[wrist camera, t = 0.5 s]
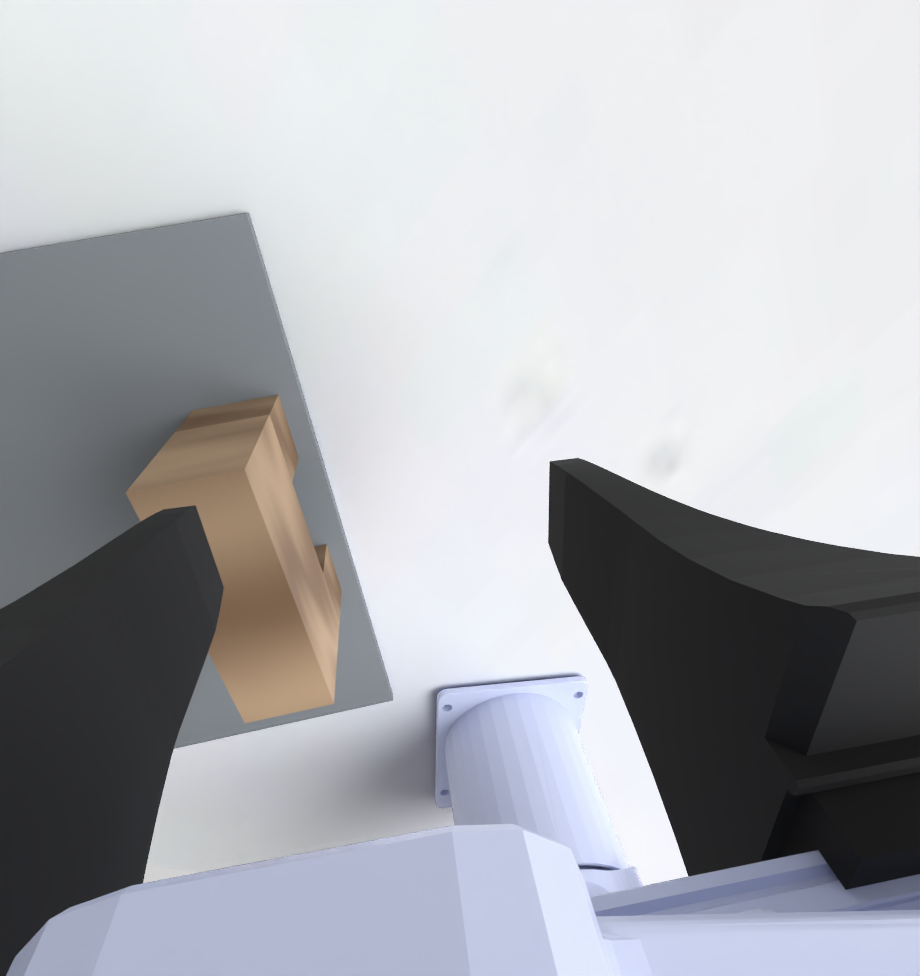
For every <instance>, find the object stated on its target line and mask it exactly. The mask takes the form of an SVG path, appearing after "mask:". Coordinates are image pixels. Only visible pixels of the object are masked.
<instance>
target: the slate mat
mask: <svg viewBox="0 0 920 976" xmlns="http://www.w3.org/2000/svg"><path fill="white" fill-rule="evenodd" d="M274 395H279V398H280V401H281V404H282V407H283V410H284V413H285V416H286V419H287V422H288V426H289V429H290V432H291V435H292V438H293V441H294V444H295V447H296V450H297V453H298V457H299V459H298V463H297V466H296V470H295V474H294V478H293V481H292V483H293V486H294V489H295V492H296V495H297V498H298V501H299V504H300V507H301V510H302V512H303V515H304V518H305V521H306V524H307V527H308V530H309V533H310V536H311V539H312V542H313V545H314V546H319V545H324V544H327V547H328V550H329V553H330V556H331V559H332V562H333V565H334V568H335V571H336V574H337V578H338V581H339V584H340V587H341V590H342V594H341V609H340V624H339V638H338V653H337V667H336V682H335V697H334V704H331V705H326V706H322V707H317V708H313V709H308V710H303V711H299V712H294V713H290V714H285V715H281V716H276V717H272V718H267V719H262V720H258V721H253V722H249V723H244V721H243V719H242V717H241V715H240V713H239V711H238V709H237V707H236V705H235V703H234V701H233V700H232V698H231V696H230V694H229V692H228V690H227V688H226V686H225V684H224V682H223V680H222V678H221V676H220V674H219V672H218V671H217V669H216V667H215V665H214V663H213V661H212V659H211V657H210V655H209V653H208V654H207V657H206V659H205V662H204V665H203V668H202V670H201V673H200V676H199V679H198V681H197V684H196V687H195V689H194V692H193V695H192V698H191V700H190V703H189V706H188V709H187V711H186V714H185V717H184V719H183V722H182V725H181V728H180V730H179V733H178V736H177V740H176V743H175V746H174V748H179V747H183V746H188V745H192V744H197V743H201V742H206V741H210V740H215V739H220V738H224V737H229V736H233V735H238V734H242V733H247V732H251V731H256V730H260V729H265V728H269V727H274V726H279V725H283V724H288V723H292V722H297V721H301V720H306V719H310V718H315V717H319V716H324V715H328V714H333V713H337V712H342V711H347V710H351V709H356V708H360V707H365V706H369V705H374V704H378V703H383V702H387V701H392V700H393V693H392V690H391V687H390V683H389V680H388V677H387V673H386V670H385V667H384V663H383V660H382V657H381V653H380V650H379V647H378V643H377V640H376V637H375V633H374V630H373V627H372V623H371V620H370V616H369V613H368V610H367V606H366V603H365V600H364V596H363V593H362V590H361V586H360V583H359V580H358V576H357V573H356V570H355V566H354V563H353V560H352V556H351V553H350V549H349V546H348V543H347V539H346V536H345V533H344V529H343V526H342V523H341V519H340V516H339V513H338V509H337V506H336V503H335V499H334V496H333V493H332V489H331V486H330V483H329V479H328V476H327V472H326V469H325V466H324V462H323V459H322V456H321V452H320V449H319V446H318V442H317V439H316V436H315V432H314V429H313V426H312V422H311V419H310V416H309V412H308V409H307V406H306V402H305V399H304V395H303V392H302V389H301V385H300V382H299V379H298V375H297V372H296V369H295V365H294V362H293V359H292V355H291V352H290V349H289V345H288V342H287V339H286V335H285V332H284V329H283V325H282V322H281V318H280V315H279V312H278V308H277V305H276V302H275V298H274V295H273V292H272V288H271V285H270V282H269V278H268V275H267V272H266V268H265V265H264V262H263V258H262V255H261V252H260V248H259V245H258V241H257V238H256V235H255V231H254V228H253V225H252V221H251V218H250V215H249V213H243V214H237V215H231V216H225V217H219V218H213V219H207V220H200V221H194V222H188V223H182V224H176V225H170V226H164V227H158V228H151V229H145V230H139V231H133V232H127V233H121V234H115V235H109V236H102V237H96V238H90V239H84V240H78V241H72V242H66V243H60V244H54V245H47V246H41V247H35V248H29V249H23V250H17V251H11V252H5V253H0V609H1V608H3V607H5V606H7V605H9V604H10V603H12V602H14V601H16V600H17V599H19V598H21V597H23V596H24V595H26V594H28V593H29V592H31V591H32V590H34V589H36V588H37V587H39V586H41V585H42V584H44V583H45V582H47V581H49V580H50V579H52V578H54V577H55V576H57V575H59V574H60V573H62V572H63V571H65V570H67V569H68V568H70V567H72V566H73V565H75V564H76V563H78V562H79V561H81V560H83V559H84V558H86V557H87V556H89V555H90V554H92V553H93V552H95V551H96V550H98V549H99V548H101V547H102V546H104V545H105V544H107V543H108V542H110V541H111V540H113V539H115V538H116V537H118V536H119V535H121V534H122V533H124V532H125V531H127V530H128V529H130V528H131V527H133V526H135V525H136V524H138V523H139V522H141V521H140V520H139V518H138V516H137V514H136V512H135V510H134V508H133V506H132V504H131V502H130V500H129V498H128V496H127V494H126V491H127V490H128V489H129V488H130V486H131V485H132V484H133V483H134V482H135V480H136V479H137V478H138V477H139V475H140V474H141V473H142V472H143V471H144V469H145V468H146V467H147V466H148V464H149V463H150V462H151V461H152V460H153V458H154V457H155V456H156V455H157V453H158V452H159V451H160V450H161V448H162V447H163V446H164V445H165V444H166V442H167V441H168V440H169V439H170V437H171V436H172V435H173V434H174V433H175V431H176V430H177V429H178V428H179V426H180V425H181V424H182V423H183V422H184V420H185V419H186V418H187V417H188V415H189V414H190V413H191V412H192V411H193V410H197V409H203V408H208V407H214V406H219V405H225V404H230V403H235V402H241V401H246V400H252V399H257V398H263V397H268V396H274Z"/></svg>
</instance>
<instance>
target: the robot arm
mask: <svg viewBox="0 0 920 976" xmlns="http://www.w3.org/2000/svg"><path fill="white" fill-rule="evenodd" d="M548 543H549V546H550V549H551V551H552V554H553V557H554V560H555V563H556V566H557V568H558V571H559V573H560V576H561V579H562V581H563V583H564V585H565V587H566V589H567V591H568V592H569V594H570V596H571V598H572V600H573V602H574V604H575V605H576V607H577V609H578V611H579V613H580V615H581V616H582V618H583V620H584V622H585V624H586V626H587V627H588V629H589V631H590V633H591V635H592V637H593V638H594V640H595V642H596V644H597V646H598V648H599V649H600V651H601V653H602V655H603V657H604V659H605V660H606V662H607V664H608V666H609V668H610V670H611V672H612V675H613V677H614V679H615V681H616V683H617V685H618V688H619V690H620V693H621V695H622V697H623V700H624V702H625V705H626V707H627V710H628V712H629V715H630V717H631V719H632V722H633V724H634V727H635V729H636V732H637V735H638V737H639V740H640V742H641V745H642V748H643V750H644V753H645V755H646V758H647V761H648V763H649V766H650V768H651V771H652V773H653V776H654V779H655V782H656V785H657V787H658V790H659V793H660V796H661V798H662V801H663V804H664V807H665V810H666V812H667V815H668V818H669V821H670V823H671V826H672V829H673V832H674V835H675V838H676V840H677V843H678V846H679V849H680V852H681V855H682V858H683V861H684V864H685V867H686V870H687V873H688V876H689V877H684V878H680V879H675V880H670V881H665V882H660V883H655V884H650V885H646V886H643V885H642V882H641V880H640V877H639V875H638V872H637V870H636V868H635V867H630V866H629V864H628V861H627V859H626V856H625V854H624V851H623V848H622V846H621V843H620V841H619V838H618V835H617V833H616V830H615V828H614V825H613V823H612V820H611V817H610V815H609V812H608V810H607V807H606V805H605V802H604V799H603V797H602V794H601V792H600V789H599V787H598V784H597V781H596V779H595V776H594V774H593V771H592V769H591V766H590V763H589V761H588V758H587V756H586V753H585V750H584V748H583V745H582V743H581V740H580V738H579V730H580V726H581V721H582V716H583V711H584V706H585V701H586V696H587V691H588V683H587V680H586V679H585V678H584V677H582V676H576V677H565V678H555V679H544V680H534V681H523V682H513V683H502V684H492V685H481V686H471V687H461V688H450V689H444V690H442V691H440V692H439V693H438V694H437V715H436V778H435V801H436V806H438V807H440V808H448V807H452V810H453V817H454V824H455V826H447V827H441V828H436V829H431V830H425V831H420V832H415V833H409V834H404V835H399V836H393V837H388V838H383V839H377V840H372V841H367V842H361V843H356V844H351V845H345V846H340V847H335V848H329V849H324V850H319V851H313V852H308V853H303V854H297V855H292V856H287V857H281V858H276V859H271V860H265V861H260V862H255V863H249V864H244V865H238V866H233V867H228V868H222V869H217V870H212V871H206V872H201V873H196V874H191V875H185V876H180V877H175V878H169V879H164V880H158V881H153V882H149V883H143V879H144V874H145V869H146V864H147V859H148V855H149V850H150V846H151V841H152V836H153V832H154V827H155V822H156V818H157V813H158V808H159V804H160V800H161V796H162V792H163V788H164V784H165V780H166V776H167V772H168V768H169V764H170V759H171V756H172V752H173V749H174V746H175V743H176V740H177V736H178V733H179V730H180V728H181V725H182V722H183V719H184V717H185V714H186V711H187V709H188V706H189V703H190V700H191V698H192V695H193V692H194V689H195V687H196V684H197V681H198V679H199V676H200V673H201V670H202V668H203V665H204V662H205V659H206V657H207V654H208V651H209V648H210V645H211V643H212V640H213V637H214V634H215V631H216V626H217V622H218V617H219V612H220V607H221V601H222V596H223V590H224V586H223V583H222V580H221V578H220V575H219V572H218V569H217V566H216V563H215V560H214V557H213V554H212V551H211V548H210V546H209V543H208V540H207V537H206V534H205V531H204V528H203V525H202V522H201V519H200V517H199V514H198V511H197V508H196V505H194V506H186V507H178V508H170V509H163V510H161V511H159V512H157V513H155V514H153V515H151V516H149V517H148V518H146V519H144V520H143V521H141V522H139V523H138V524H136V525H135V526H133V527H131V528H130V529H128V530H127V531H125V532H124V533H122V534H121V535H119V536H118V537H116V538H115V539H113V540H111V541H110V542H108V543H107V544H105V545H104V546H102V547H101V548H99V549H98V550H96V551H95V552H93V553H92V554H90V555H89V556H87V557H86V558H84V559H83V560H81V561H79V562H78V563H76V564H75V565H73V566H72V567H70V568H68V569H67V570H65V571H63V572H62V573H60V574H59V575H57V576H55V577H54V578H52V579H50V580H49V581H47V582H45V583H44V584H42V585H41V586H39V587H37V588H36V589H34V590H32V591H31V592H29V593H28V594H26V595H24V596H23V597H21V598H19V599H17V600H16V601H14V602H12V603H10V604H9V605H7V606H5V607H3V608H1V609H0V976H920V557H915V556H905V555H895V554H887V553H880V552H874V551H867V550H861V549H854V548H848V547H842V546H836V545H830V544H825V543H820V542H814V541H809V540H805V539H800V538H796V537H792V536H787V535H783V534H778V533H774V532H770V531H766V530H762V529H758V528H754V527H751V526H747V525H744V524H741V523H737V522H734V521H731V520H728V519H724V518H721V517H718V516H715V515H712V514H709V513H706V512H703V511H700V510H698V509H695V508H692V507H690V506H687V505H685V504H682V503H680V502H677V501H675V500H672V499H669V498H667V497H665V496H662V495H660V494H658V493H655V492H653V491H651V490H649V489H646V488H644V487H642V486H640V485H638V484H636V483H633V482H631V481H629V480H627V479H625V478H623V477H621V476H619V475H616V474H614V473H612V472H610V471H608V470H606V469H604V468H602V467H599V466H597V465H595V464H593V463H590V462H588V461H585V460H582V459H579V458H575V459H567V460H558V461H550V477H549V535H548Z"/></svg>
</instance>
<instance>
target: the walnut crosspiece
mask: <svg viewBox="0 0 920 976" xmlns="http://www.w3.org/2000/svg"><path fill="white" fill-rule="evenodd" d="M298 459H299V457H298V453H297V450H296V447H295V444H294V441H293V438H292V435H291V432H290V429H289V426H288V422H287V419H286V416H285V413H284V410H283V407H282V404H281V401H280V398H279V395H274V396H268V397H263V398H257V399H252V400H246V401H241V402H235V403H230V404H225V405H219V406H214V407H208V408H203V409H197V410H193V411H192V412H191V413H190V414H189V415H188V417H187V418H186V419H185V420H184V422H183V423H182V424H181V425H180V426H179V428H178V429H177V430H176V431H175V433H174V434H173V435H172V436H171V437H170V439H169V440H168V441H167V442H166V444H165V445H164V446H163V447H162V448H161V450H160V451H159V452H158V453H157V455H156V456H155V457H154V458H153V460H152V461H151V462H150V463H149V464H148V466H147V467H146V468H145V469H144V471H143V472H142V473H141V474H140V475H139V477H138V478H137V479H136V480H135V482H134V483H133V484H132V485H131V486H130V488H129V489H128V490H127V491H126V494H127V496H128V498H129V500H130V502H131V504H132V506H133V508H134V510H135V512H136V514H137V516H138V518H139V520H140V521H143V520H144V519H146V518H148V517H149V516H151V515H153V514H155V513H157V512H159V511H161V510H163V509H170V508H178V507H186V506H194V505H196V508H197V511H198V514H199V517H200V519H201V522H202V525H203V528H204V531H205V534H206V537H207V540H208V543H209V546H210V548H211V551H212V554H213V557H214V560H215V563H216V566H217V569H218V572H219V575H220V578H221V580H222V583H223V586H224V590H223V596H222V601H221V607H220V612H219V617H218V622H217V626H216V631H215V634H214V637H213V640H212V643H211V645H210V648H209V651H208V653H209V655H210V657H211V659H212V661H213V663H214V665H215V667H216V669H217V671H218V672H219V674H220V676H221V678H222V680H223V682H224V684H225V686H226V688H227V690H228V692H229V694H230V696H231V698H232V700H233V701H234V703H235V705H236V707H237V709H238V711H239V713H240V715H241V717H242V719H243V721H244V723H249V722H253V721H258V720H262V719H267V718H272V717H276V716H281V715H285V714H290V713H294V712H299V711H303V710H308V709H313V708H317V707H322V706H326V705H331V704H334V697H335V682H336V667H337V653H338V638H339V624H340V609H341V594H342V590H341V587H340V584H339V581H338V578H337V574H336V571H335V568H334V565H333V562H332V559H331V556H330V553H329V550H328V547H327V544H324V545H319V546H314V545H313V542H312V539H311V536H310V533H309V530H308V527H307V524H306V521H305V518H304V515H303V512H302V510H301V507H300V504H299V501H298V498H297V495H296V492H295V489H294V486H293V483H292V481H293V478H294V474H295V470H296V466H297V463H298Z"/></svg>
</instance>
